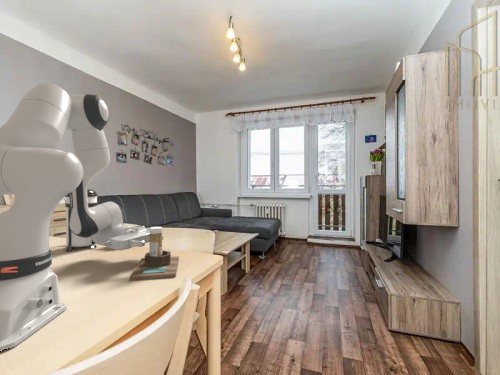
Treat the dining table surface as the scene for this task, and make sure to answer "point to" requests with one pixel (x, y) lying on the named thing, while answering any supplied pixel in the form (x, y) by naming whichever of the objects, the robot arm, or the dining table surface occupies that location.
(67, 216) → the coffee press
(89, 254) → the dining table surface
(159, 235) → the sprinkles bottle
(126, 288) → the dining table surface
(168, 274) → the socket board
